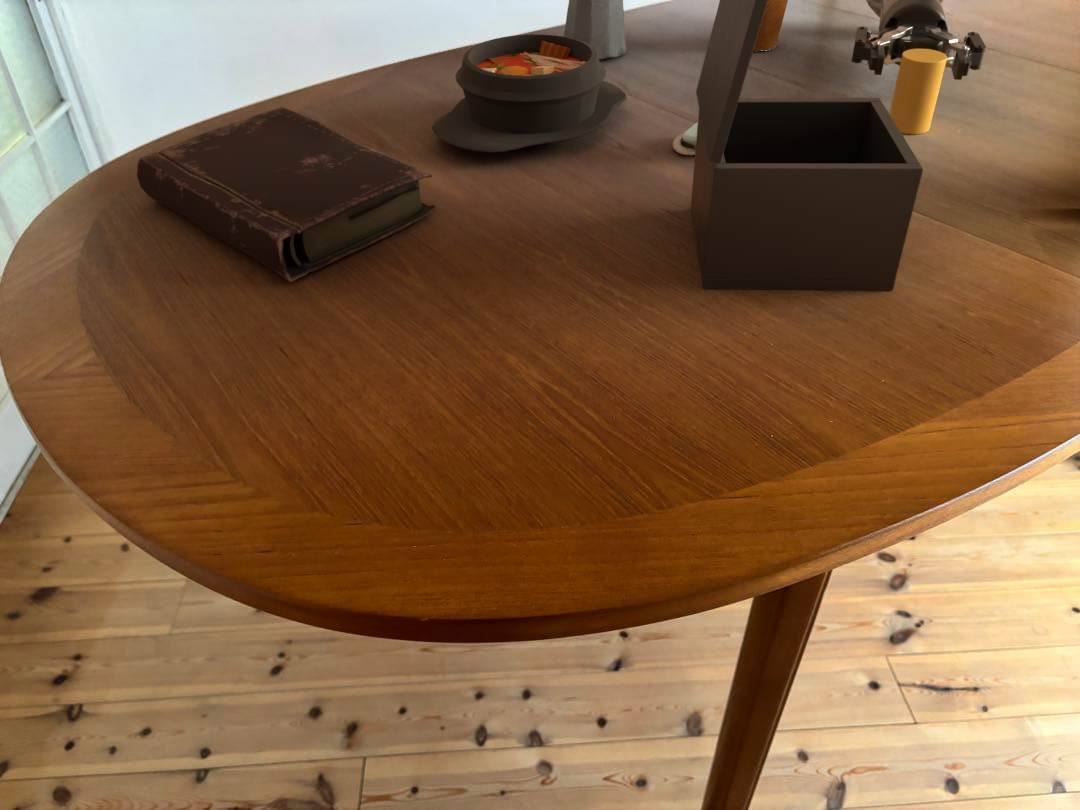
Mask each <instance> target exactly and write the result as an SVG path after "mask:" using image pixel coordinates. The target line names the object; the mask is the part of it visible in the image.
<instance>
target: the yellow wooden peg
mask: <svg viewBox="0 0 1080 810" xmlns="http://www.w3.org/2000/svg"><path fill="white" fill-rule="evenodd" d="M946 61H947V56H946V55H945V54H944V53H942V52H939V51H936V50H931V49H910V50H907V51H905V52H903V54H902V59H901V63H900V66H899V68H898V71H897V77H896V82H895V87H894V91H893V96H892V100H891V104H890V108H889V112H888V113H889V114H890V116H891V118H892V119H893V121H894V122H895V124H896V126H897V127H898V129H899V130H900V132H901V134H904V135H922V134H925V133H927V132H929V130H930V129H931V124H932V120H933V116H934V112H935V109H936V106H937V105H936V104H937V100H938V97H939V92H940V88H941V84H942V80H943V76H944V72H945V68H946V67H945V65H946Z"/></svg>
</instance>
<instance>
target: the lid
mask: <svg viewBox="0 0 1080 810" xmlns="http://www.w3.org/2000/svg"><path fill="white" fill-rule="evenodd" d="M767 2H768V0H719V3H718V6H717V10H716V12H715V13H716V14H715V17H714V21H713V25H712V28H711V29H712V30H711V33H710V37H709V41H708V43H707V44H708V45H707V49H706V52H705V55H704V60H703V64H702V68H701V70H700V75H699V79H698V83H697V86H696V90H695V93H696V99H697V103H698V110H699V109H700V114H701V119H702V124H703V129H704V134H705V139H706V144H707V149H708V154H709V159H710V162H716V163H720V162H721V159H722V156H723V152H724V149H725V145H726V142H727V139H728V135H729V132H730V128H731V125H732V121H733V118H734V115H735V111H736V108H737V104H738V101H739V98H741V95H742V90H743V87H744V84H745V80H746V77H747V75H748V74H747V73H748V70H749V67H750V63H751V60H752V57H753V53H754V52H753V50H754V46H755V43H756V39H757V36H758V33H759V29H760V26H761V22H762V19H763V16H764V12H765V9H766V5H767Z"/></svg>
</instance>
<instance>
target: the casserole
mask: <svg viewBox="0 0 1080 810" xmlns="http://www.w3.org/2000/svg"><path fill="white" fill-rule="evenodd" d="M606 76H607V70H606V68H605V66H604V65H603V64H602V63H601V61H600V59H599V58H598V55H597V52H596V50H595V49H594V48H593V47H592V46H591V45H589V44H587V43H585V42H583V41H580V40H577V39H573V38H569V37H564V35H563V36H561V35H554V34H518V35H509V36H502V37H497V38H493V39H490V40H486V41H483V42H481V43H478V44H476V45H474V46H472V47H470V48H469V49H468V50H467V51H466V52H465V53H464V54H463V58H462V62H461V66H460V67H459V68H458V70H457V71H456V74H455V82H456V83H457V84H458V86H459V87H460V88H461V89H462V91H463V96H464V97H463V98H461V99H460V100H459V102H457V104H455V105H454V107H452V109H451V110H450V111H448V112H447V113H445V114H444V115H442V116H440V117H439V118H437V120H435V121H434V122H433V124H432V126H431V130H432V132H433V134H434V135H435V136H437V137H438V138H439V140H442V141H443V142H445V143H447V144H449V145H451V146H455V147H458V148H461V149H464V150H470V151H475V152H480V153H489V154H497V153H507V152H512V151H517V150H520V149H524V148H527V147H532V146H538V145H547V144H553V143H560V142H565V141H570V140H573V139H577V138H581V137H583V136H586V135H588V134H590V133H592V132H595V131H596V130H598V129H601V127H603V126H604V125H606V123H608V122H609V120H610V119H611V117H612V115H613V114H614V112H615V110H616V109H618V107H619V106H621V105H622V103H624V102H625V101H626V100H627V93H625V92H624V91H623V89H621V88H620V87H619V86H616V85H614V84H613V83H610V82H607V81H604V80H605V78H606Z"/></svg>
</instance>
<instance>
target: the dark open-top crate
mask: <svg viewBox="0 0 1080 810" xmlns="http://www.w3.org/2000/svg"><path fill="white" fill-rule="evenodd" d="M889 113H890V112H889V111H888V109H887V108H886V106H885V104H884V103H883V102H882V100H881V98H880V97H740V98H739V101H738V104H737V108H736V111H735V115H734V118H733V121H732V125H731V128H730V132H729V135H728V139H727V142H726V145H725V149H724V152H723V156H722V159H721V162H720V163H716V162H710V159H709V154H708V149H707V144H706V139H705V134H704V129H703V124H702V119H701V114H700V109H699V108H698V119H697V122H698V128H697V140H696V152H695V155H694V165H693V175H692V189H691V201H690V213H691V219H692V226H693V234H694V241H695V248H696V254H697V261H698V268H699V274H700V283H701V288H702V289H704V290H706V289H707V290H711V289H712V290H791V291H793V290H795V291H796V290H797V291H888V292H889V291H892V292H893V290H894V287H895V284H896V278H897V275H898V271H899V267H900V263H901V259H902V256H903V252H904V247H905V243H906V239H907V235H908V231H909V228H910V223H911V219H912V216H913V211H914V209H915V204H916V201H917V196H918V191H919V189H920V184H921V181H922V176H923V172H924V167H923V166H922V164H921V163H920V161H919V160H918V158H917V156H916V155H915V153H914V151H913V150H912V148H911V147H910V145H909V143H908V141H907V140H906V138H905V137H904V135H903V133H901V132H900V130H899V129H898V127H897V126H896V124H895V122H894V121H893V119H892V118H891V116H890V114H889Z"/></svg>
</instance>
